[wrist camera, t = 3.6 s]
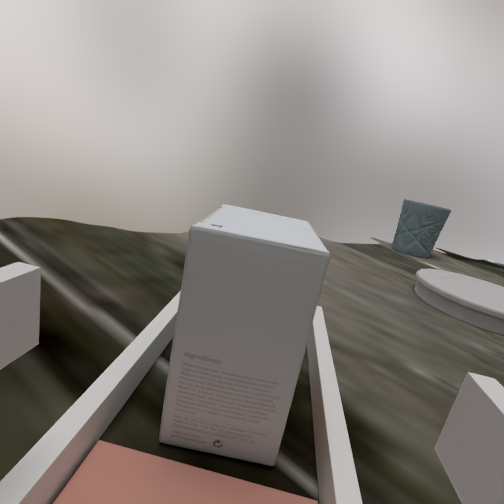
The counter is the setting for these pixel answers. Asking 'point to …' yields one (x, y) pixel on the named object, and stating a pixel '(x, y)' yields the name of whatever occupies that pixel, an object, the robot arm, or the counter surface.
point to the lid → (463, 297)
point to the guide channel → (123, 385)
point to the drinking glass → (419, 228)
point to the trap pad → (159, 482)
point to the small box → (241, 332)
